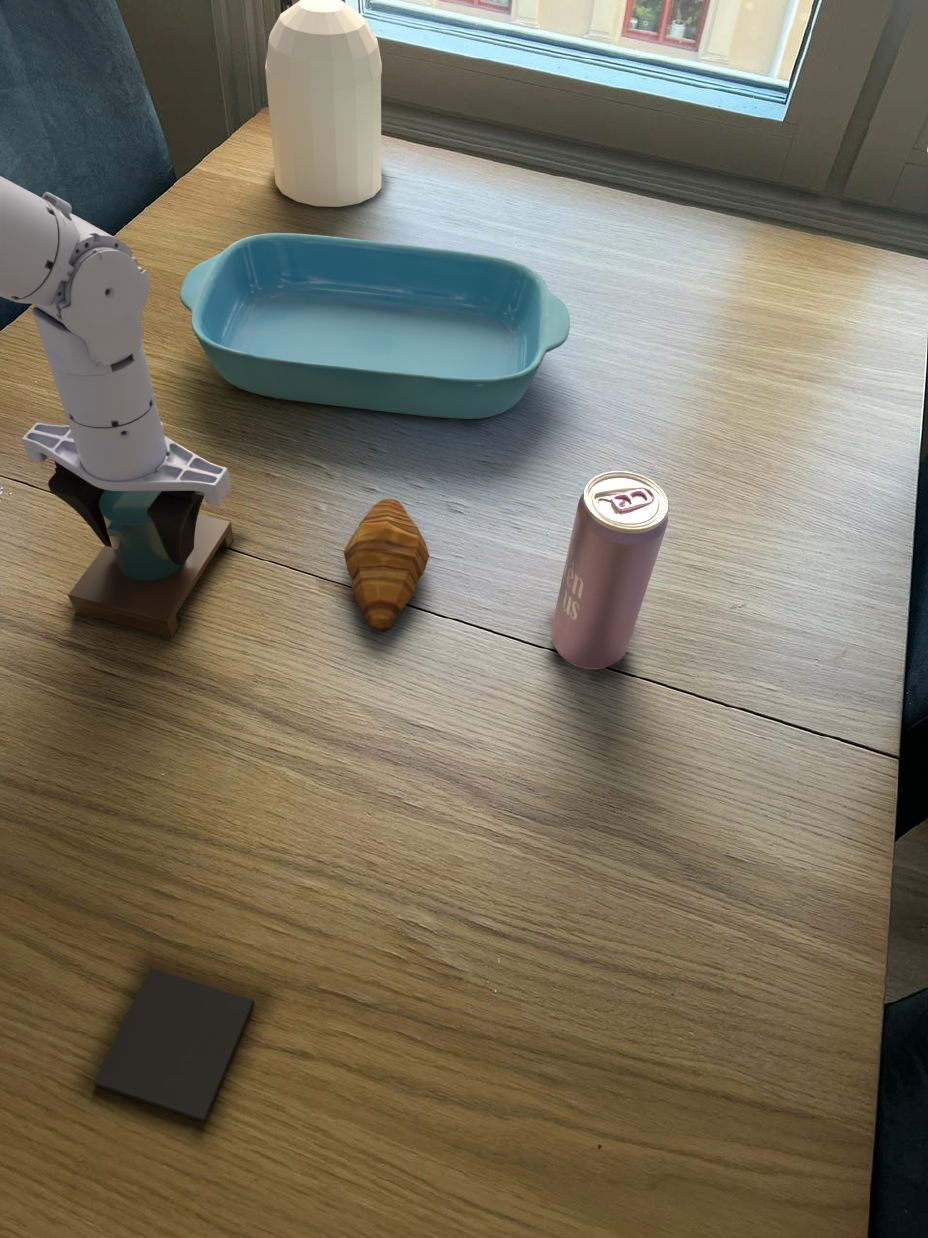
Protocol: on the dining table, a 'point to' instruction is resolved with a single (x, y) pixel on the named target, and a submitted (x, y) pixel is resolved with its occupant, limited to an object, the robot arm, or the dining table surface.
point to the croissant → (385, 562)
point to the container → (325, 104)
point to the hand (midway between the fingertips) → (149, 546)
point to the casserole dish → (374, 324)
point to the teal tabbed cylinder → (136, 535)
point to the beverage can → (608, 567)
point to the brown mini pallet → (147, 584)
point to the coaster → (175, 1044)
